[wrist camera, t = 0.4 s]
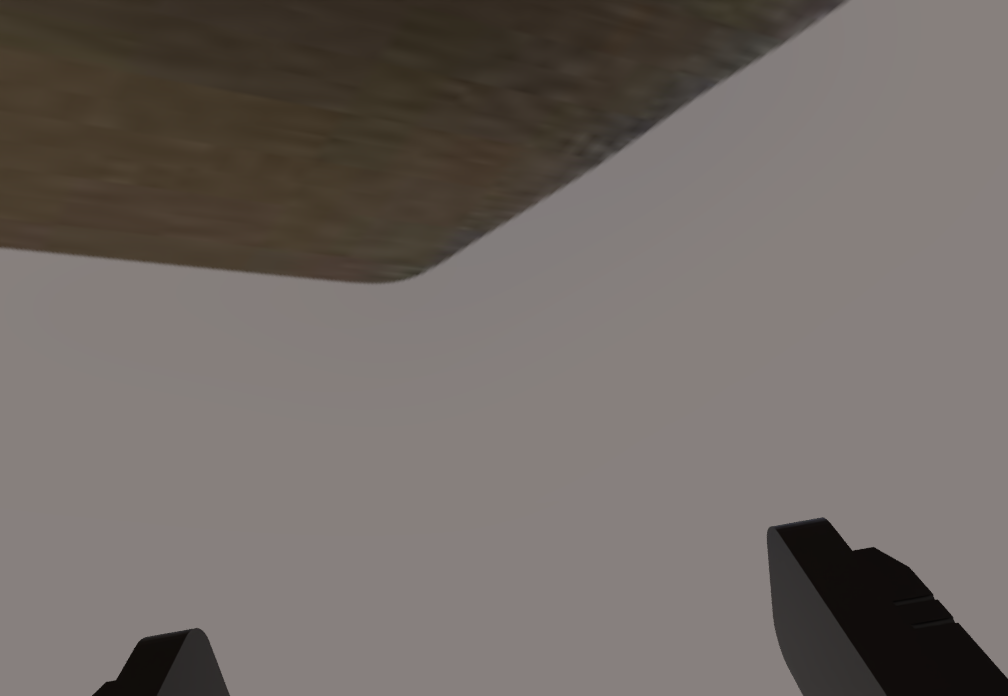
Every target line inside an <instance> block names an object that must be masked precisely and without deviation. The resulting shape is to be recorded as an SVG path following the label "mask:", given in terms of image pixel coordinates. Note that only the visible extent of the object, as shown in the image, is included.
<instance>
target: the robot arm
mask: <svg viewBox="0 0 1008 696" xmlns="http://www.w3.org/2000/svg"><path fill="white" fill-rule="evenodd" d="M767 547H768V559H769V572H770V584H771V596H772V607H773V608H772V609H773V619H774V626H775V630H776V635H777V638H778V642H779V646H780V649H781V651H782V654H783V657H784V659H785V661H786V664H787V666H788V668H789V670H790V672H791V674H792V675H793V677H794V679H795V681H796V683H797V685H798V687H799V688H800V690H801V692H802V694H803V696H1008V679H1007V677H1006V676H1005V675H1004V674H1003V673H1002V672H1001V671H1000V669H999V668H998V667H997V666H996V665H995V664H994V663H993V662H992V661H991V659H990V658H989V657H988V656H987V655H986V654H985V653H984V652H983V650H982V649H981V648H980V647H979V646H978V645H977V643H976V642H975V641H974V640H973V639H972V638H971V637H970V635H969V634H968V633H967V632H966V631H965V630H964V629H963V628H962V627H961V625H960V624H959V623H955V622H954V620H953V616H952V615H951V614H950V613H949V612H948V611H947V609H946V608H945V607H944V606H943V605H942V604H941V603H940V602H939V600H935V599H934V597H933V594H932V592H931V591H930V590H929V589H928V588H927V587H926V586H925V585H924V583H923V582H922V581H921V580H920V579H919V578H918V577H917V575H915V573H914V572H913V571H912V570H911V569H910V568H909V567H908V566H906V565H904V564H903V563H901V562H899V561H897V560H896V559H894V558H892V557H890V556H888V555H887V554H885V553H883V552H881V551H880V550H878V549H876V548H874V547H871V548H866V549H860V550H854V551H852V550H851V548H850V547H849V546H848V545H847V543H846V542H845V541H844V540H843V538H842V537H841V536H840V535H839V533H838V532H837V531H836V530H835V528H834V527H833V526H832V525H831V523H830V522H829V521H828V520H827V519H825V518H817V519H811V520H806V521H800V522H794V523H789V524H784V525H778V526H772V527H770V528H769V529H768V532H767ZM92 696H230V695H229V692H228V690H227V687H226V685H225V682H224V679H223V677H222V674H221V671H220V669H219V666H218V663H217V661H216V658H215V655H214V653H213V650H212V647H211V645H210V642H209V640H208V637H207V636H206V634H205V633H204V632H203V631H202V630H201V629H199V628H195V629H189V630H184V631H178V632H172V633H167V634H161V635H156V636H150V637H145V638H143V639H141V640H140V641H139V642H138V644H137V645H136V647H135V648H134V650H133V652H132V654H131V655H130V657H129V659H128V661H127V663H126V664H125V666H124V667H123V669H122V671H121V673H120V674H119V676H118V678H117V680H115V681H110V682H106V683H105V684H104V685H103V686H102V687H101V688H100V689H99V690H98V691H97V692H96V693H94V694H93V695H92Z"/></svg>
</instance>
